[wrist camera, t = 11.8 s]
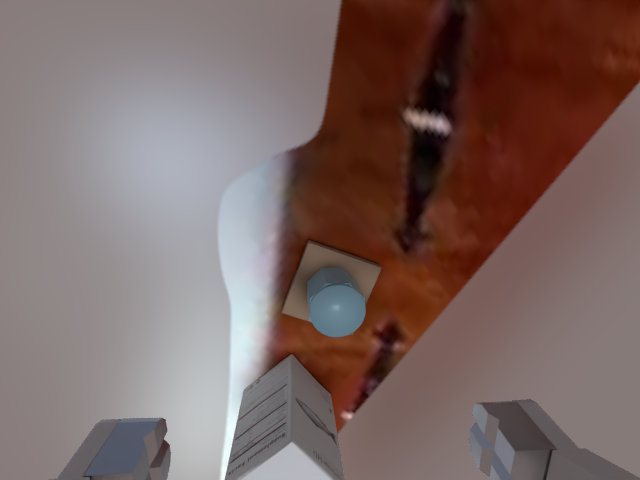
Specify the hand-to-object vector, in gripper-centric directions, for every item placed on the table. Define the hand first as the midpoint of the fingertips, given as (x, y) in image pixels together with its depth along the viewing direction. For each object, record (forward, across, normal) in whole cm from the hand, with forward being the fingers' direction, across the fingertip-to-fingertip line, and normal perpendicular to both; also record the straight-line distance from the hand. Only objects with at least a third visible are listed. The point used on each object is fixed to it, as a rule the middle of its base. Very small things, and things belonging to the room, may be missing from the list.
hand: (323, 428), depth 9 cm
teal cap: (+26, -3, +7) cm, 27 cm away
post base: (+27, -3, +7) cm, 28 cm away
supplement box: (+26, +2, +20) cm, 33 cm away
